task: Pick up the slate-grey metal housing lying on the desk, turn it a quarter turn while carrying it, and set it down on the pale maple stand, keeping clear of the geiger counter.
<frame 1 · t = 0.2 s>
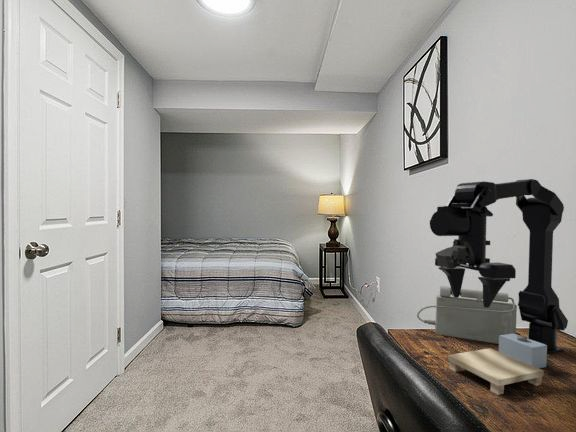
hand: (470, 302, 80), 14 cm above the table, fingers open, 9 cm apart
housing: (521, 361, 81), on the table
geiger counter: (463, 338, 97), on the table
stand: (493, 376, 73), on the table
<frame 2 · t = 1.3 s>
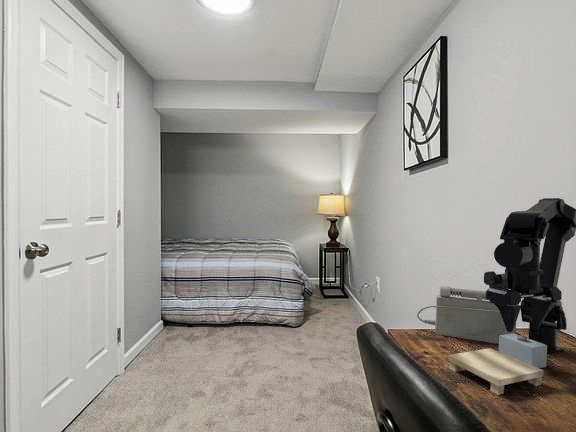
hand: (522, 329, 81), 7 cm above the table, fingers open, 9 cm apart
nothing on the table moved.
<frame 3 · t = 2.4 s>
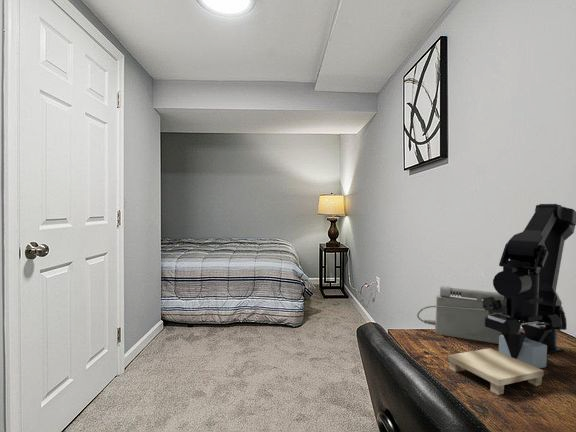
hand: (521, 356, 81), 1 cm above the table, fingers closed on housing, 5 cm apart
housing: (521, 361, 81), on the table, touching gripper
everything else where it was.
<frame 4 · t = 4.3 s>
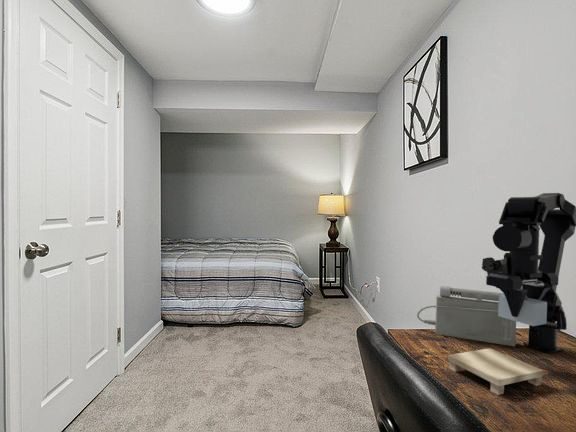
hand: (521, 315, 81), 11 cm above the table, fingers closed on housing, 5 cm apart
housing: (521, 319, 81), point 10 cm above the table, touching gripper
everything else where it was.
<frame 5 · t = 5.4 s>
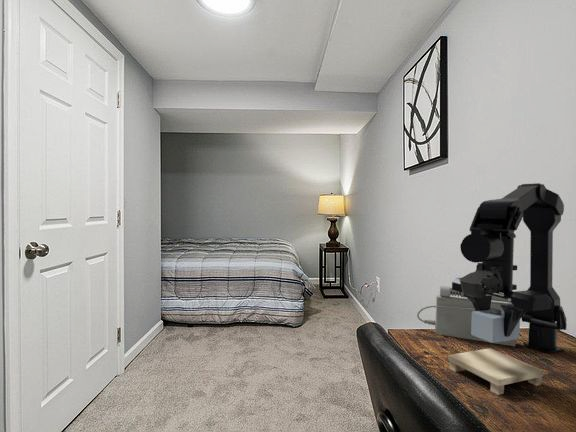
hand: (495, 332, 73), 9 cm above the table, fingers closed on housing, 5 cm apart
housing: (494, 336, 73), point 9 cm above the table, touching gripper
everything else where it was.
when the fingers open (5 cm above the table, at t = 6.4 s): housing drops 1 cm, resting on stand.
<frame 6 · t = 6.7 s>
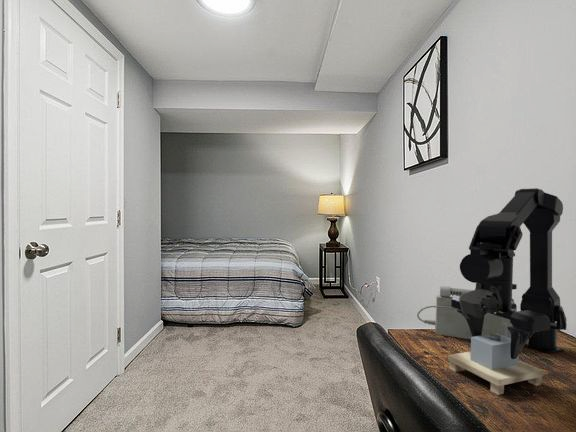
hand: (494, 350, 73), 5 cm above the table, fingers open, 8 cm apart
housing: (494, 362, 73), point 3 cm above the table, touching stand
everything else where it was.
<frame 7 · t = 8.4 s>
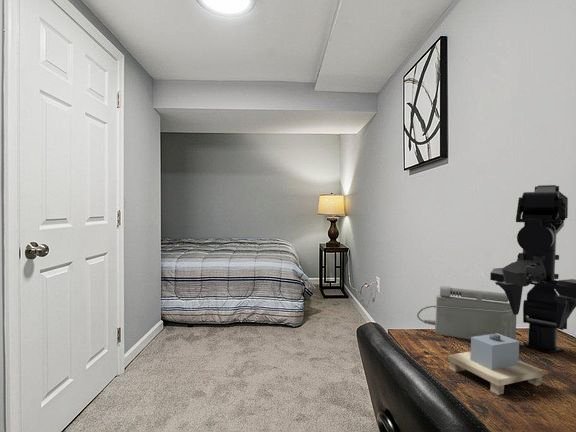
hand: (536, 320, 74), 12 cm above the table, fingers open, 9 cm apart
nothing on the table moved.
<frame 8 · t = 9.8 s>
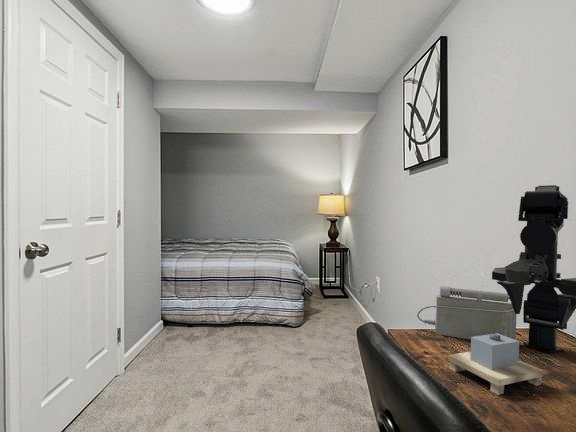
hand: (538, 319, 74), 12 cm above the table, fingers open, 9 cm apart
nothing on the table moved.
at the end: housing 0.1 cm off-centre on the stand, point 3.0 cm above the stand's base; housing tilted 0°; the gripper is holding nothing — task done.
